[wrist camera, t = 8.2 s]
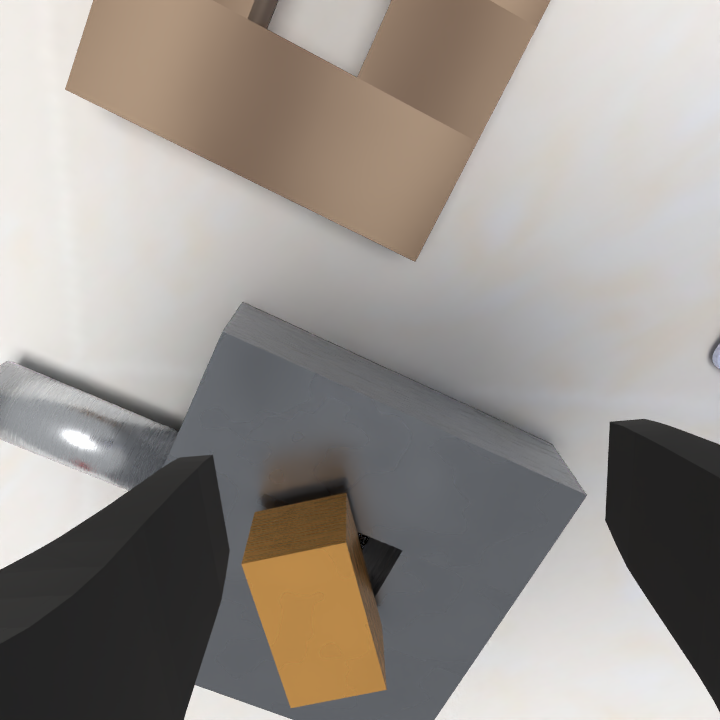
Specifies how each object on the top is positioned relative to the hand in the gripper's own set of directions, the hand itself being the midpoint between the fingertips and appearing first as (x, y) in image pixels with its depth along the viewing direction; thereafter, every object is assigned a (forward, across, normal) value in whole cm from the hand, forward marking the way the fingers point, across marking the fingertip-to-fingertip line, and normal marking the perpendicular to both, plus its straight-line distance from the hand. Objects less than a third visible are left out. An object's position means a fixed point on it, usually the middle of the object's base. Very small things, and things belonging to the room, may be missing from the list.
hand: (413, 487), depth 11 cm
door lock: (+10, +5, +5) cm, 13 cm away
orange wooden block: (+10, +3, +6) cm, 13 cm away
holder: (+10, +1, -10) cm, 14 cm away
